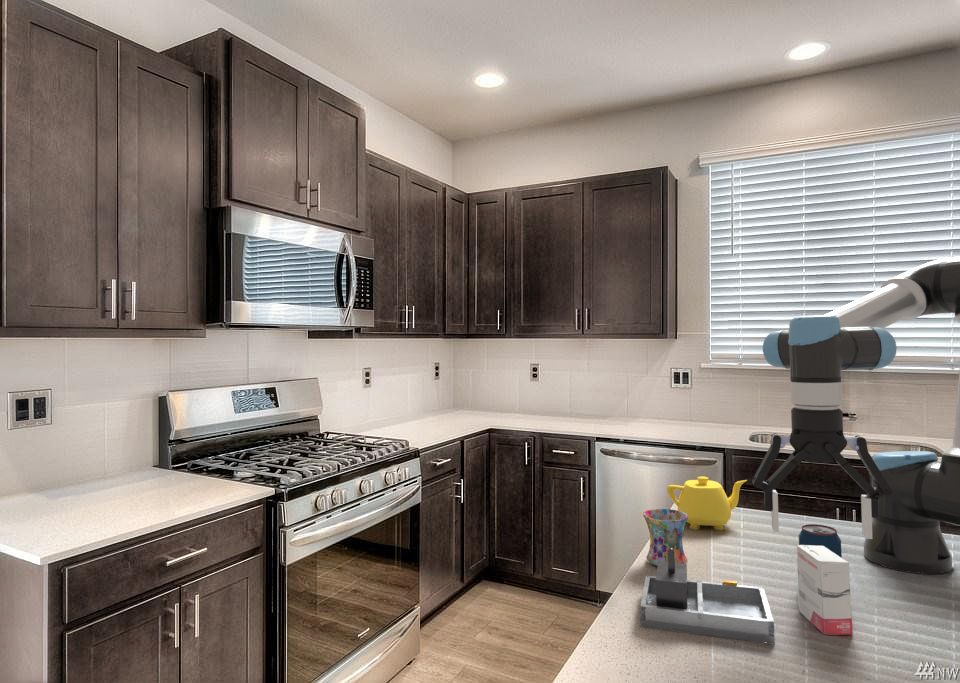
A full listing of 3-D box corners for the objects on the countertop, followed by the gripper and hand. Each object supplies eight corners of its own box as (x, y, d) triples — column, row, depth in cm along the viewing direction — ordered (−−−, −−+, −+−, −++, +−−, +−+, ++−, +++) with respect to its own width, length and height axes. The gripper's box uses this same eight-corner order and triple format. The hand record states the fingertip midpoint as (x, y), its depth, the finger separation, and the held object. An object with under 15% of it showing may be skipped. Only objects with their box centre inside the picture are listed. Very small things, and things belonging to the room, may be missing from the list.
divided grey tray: (764, 605, 104) (761, 542, 104) (774, 644, 91) (772, 571, 91) (646, 592, 111) (644, 533, 111) (640, 626, 98) (638, 559, 98)
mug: (688, 573, 119) (686, 522, 119) (642, 568, 123) (640, 518, 123) (691, 554, 130) (689, 507, 130) (648, 549, 134) (647, 503, 134)
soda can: (792, 589, 110) (789, 526, 110) (817, 582, 113) (814, 521, 113) (826, 603, 104) (823, 537, 104) (851, 595, 107) (849, 531, 107)
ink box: (854, 635, 92) (851, 562, 93) (822, 635, 93) (819, 562, 93) (826, 611, 101) (823, 543, 101) (797, 611, 101) (794, 543, 102)
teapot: (755, 534, 142) (753, 483, 142) (671, 531, 146) (669, 482, 146) (741, 518, 155) (739, 472, 156) (664, 516, 159) (662, 471, 159)
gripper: (896, 405, 97) (900, 532, 96) (734, 404, 105) (737, 520, 105) (912, 410, 90) (916, 547, 89) (737, 408, 98) (741, 533, 98)
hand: (820, 533), depth 97 cm, fingers open, 13 cm apart
